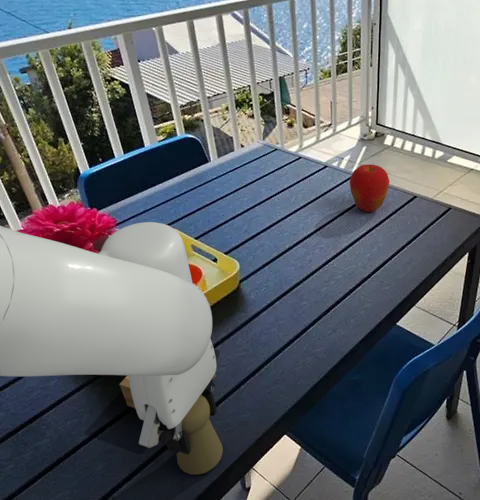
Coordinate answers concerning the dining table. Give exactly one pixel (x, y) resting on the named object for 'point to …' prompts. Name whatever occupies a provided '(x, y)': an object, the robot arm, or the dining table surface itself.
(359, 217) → the dining table surface
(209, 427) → the olive rounded figure
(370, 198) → the apple
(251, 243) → the dining table surface
